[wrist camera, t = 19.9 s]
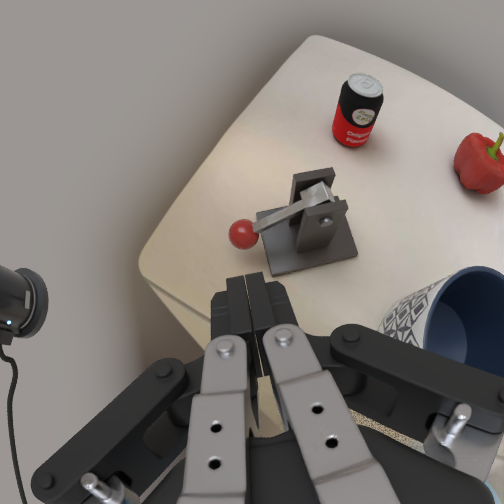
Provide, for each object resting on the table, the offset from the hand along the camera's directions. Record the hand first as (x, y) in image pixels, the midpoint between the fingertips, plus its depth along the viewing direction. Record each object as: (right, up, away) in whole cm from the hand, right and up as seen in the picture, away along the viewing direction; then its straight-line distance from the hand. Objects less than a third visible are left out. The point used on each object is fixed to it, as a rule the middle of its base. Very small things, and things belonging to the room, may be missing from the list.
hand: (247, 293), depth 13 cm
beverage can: (+16, +21, +36) cm, 45 cm away
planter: (+24, -12, +25) cm, 36 cm away
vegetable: (+40, +15, +33) cm, 54 cm away
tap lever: (+4, +5, +24) cm, 25 cm away
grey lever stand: (+8, +4, +30) cm, 32 cm away
